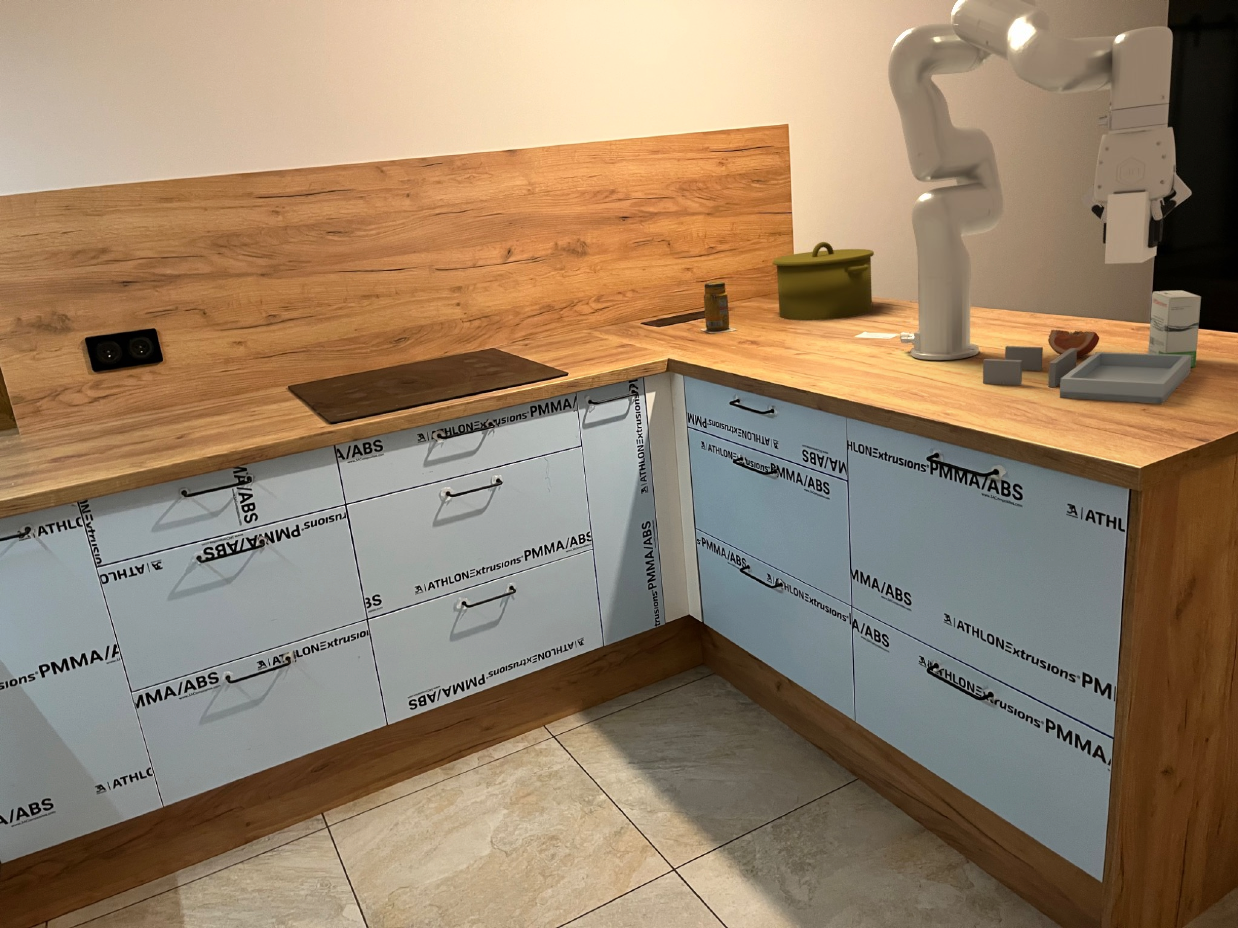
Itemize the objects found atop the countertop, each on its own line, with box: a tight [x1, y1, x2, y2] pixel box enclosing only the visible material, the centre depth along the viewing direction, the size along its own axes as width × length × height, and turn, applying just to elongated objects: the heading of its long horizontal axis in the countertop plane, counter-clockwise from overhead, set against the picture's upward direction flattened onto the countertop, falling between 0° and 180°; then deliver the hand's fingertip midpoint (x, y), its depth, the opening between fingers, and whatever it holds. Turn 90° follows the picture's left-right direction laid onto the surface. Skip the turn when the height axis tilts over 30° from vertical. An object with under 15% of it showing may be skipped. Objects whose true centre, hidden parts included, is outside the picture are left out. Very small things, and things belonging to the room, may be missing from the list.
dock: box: [982, 345, 1078, 388], centre depth 156 cm, size 12×12×4 cm
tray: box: [1059, 351, 1192, 405], centre depth 145 cm, size 14×20×3 cm
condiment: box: [700, 281, 738, 334], centre depth 234 cm, size 7×8×12 cm
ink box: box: [1147, 290, 1202, 368], centre depth 154 cm, size 9×5×12 cm, turn 168°
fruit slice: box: [1047, 329, 1100, 359], centre depth 167 cm, size 8×7×5 cm
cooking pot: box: [771, 241, 875, 321], centre depth 242 cm, size 30×26×18 cm
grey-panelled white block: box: [1104, 190, 1158, 265], centre depth 139 cm, size 5×9×10 cm, turn 140°
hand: (1131, 246), depth 140 cm, fingers closed on grey-panelled white block, 5 cm apart
